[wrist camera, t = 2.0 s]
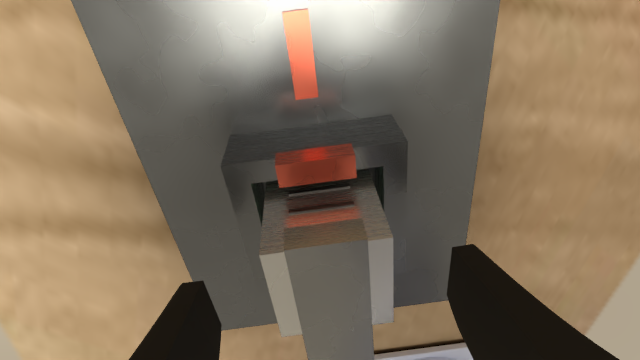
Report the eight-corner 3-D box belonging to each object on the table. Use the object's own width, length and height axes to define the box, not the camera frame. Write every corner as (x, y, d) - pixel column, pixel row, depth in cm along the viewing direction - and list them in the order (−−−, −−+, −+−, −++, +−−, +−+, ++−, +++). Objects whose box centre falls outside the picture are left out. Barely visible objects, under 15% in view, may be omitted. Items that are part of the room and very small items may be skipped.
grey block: (368, 236, 16) (402, 359, 11) (284, 247, 16) (282, 375, 11) (363, 130, 14) (405, 234, 9) (261, 143, 14) (245, 255, 9)
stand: (452, 287, 20) (483, 351, 17) (217, 318, 20) (203, 389, 17) (495, -60, 11) (575, -62, 8) (83, -5, 11) (3, 14, 8)
